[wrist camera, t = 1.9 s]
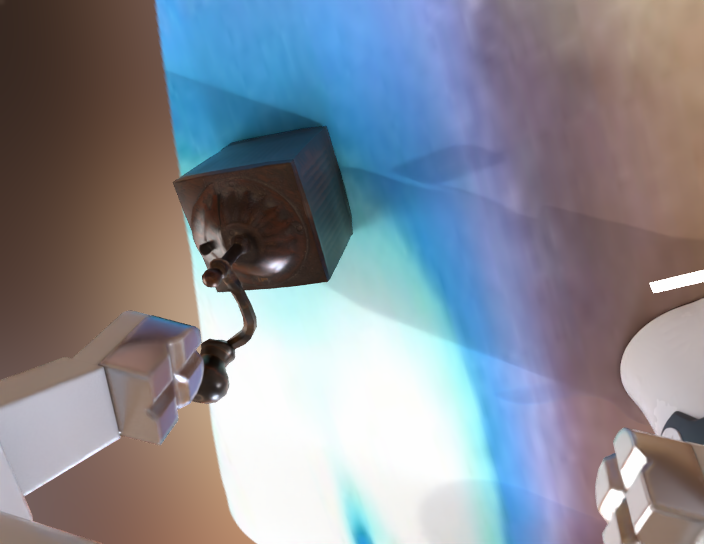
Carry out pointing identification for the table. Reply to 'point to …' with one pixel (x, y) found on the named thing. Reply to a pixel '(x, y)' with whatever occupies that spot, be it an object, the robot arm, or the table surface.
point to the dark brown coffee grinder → (264, 226)
